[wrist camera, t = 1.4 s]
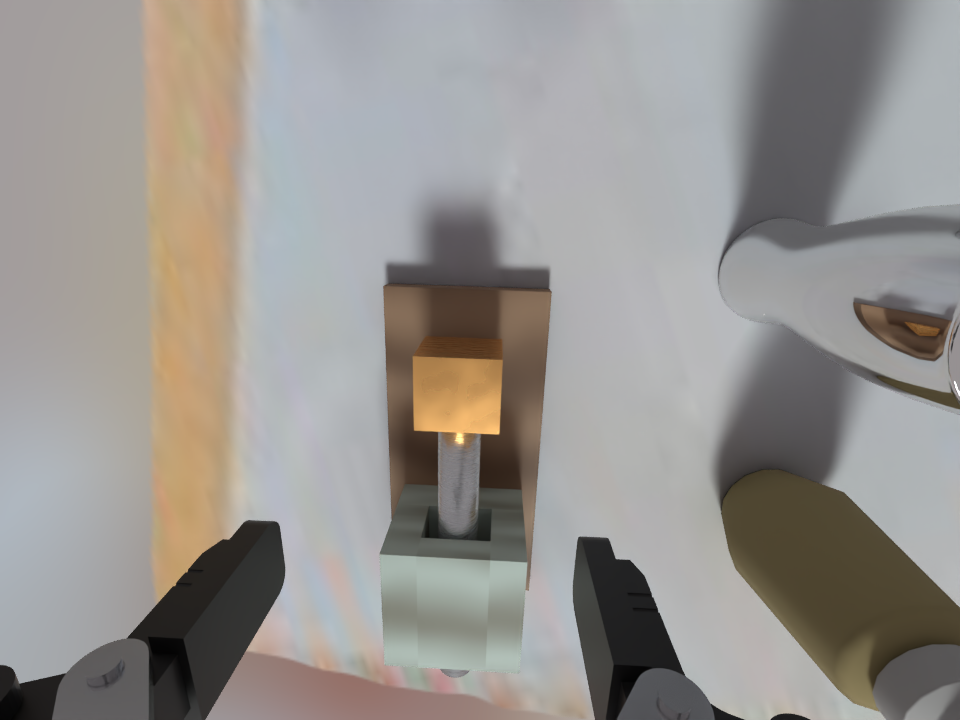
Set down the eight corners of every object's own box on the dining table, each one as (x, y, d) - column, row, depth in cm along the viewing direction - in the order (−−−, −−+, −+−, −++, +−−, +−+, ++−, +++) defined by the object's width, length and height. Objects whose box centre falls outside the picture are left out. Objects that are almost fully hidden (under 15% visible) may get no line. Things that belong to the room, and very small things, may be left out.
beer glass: (715, 213, 26) (979, 207, 12) (841, 206, 26) (1275, 189, 11) (704, 330, 28) (918, 447, 14) (821, 325, 28) (1165, 439, 13)
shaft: (425, 336, 26) (412, 356, 22) (502, 339, 26) (502, 359, 22) (428, 632, 32) (418, 687, 29) (488, 635, 32) (487, 691, 28)
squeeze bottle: (698, 465, 31) (947, 774, 14) (822, 442, 30) (1256, 742, 13) (709, 560, 33) (934, 927, 16) (825, 541, 32) (1196, 909, 15)
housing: (388, 283, 28) (346, 307, 20) (549, 289, 28) (568, 315, 20) (397, 570, 35) (368, 670, 27) (527, 578, 34) (535, 680, 27)
